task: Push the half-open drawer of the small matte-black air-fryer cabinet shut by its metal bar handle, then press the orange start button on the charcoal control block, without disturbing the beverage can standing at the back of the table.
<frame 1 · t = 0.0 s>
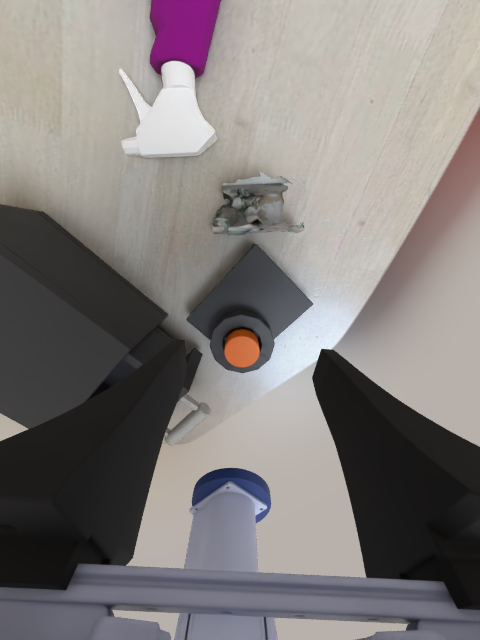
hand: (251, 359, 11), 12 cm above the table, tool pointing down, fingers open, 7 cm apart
drawer: (124, 377, 20), point 4 cm above the table, slide at 4.5 cm
control block: (248, 307, 22), on the table
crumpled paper: (255, 212, 19), on the table
fryer: (80, 309, 22), on the table
start button: (242, 347, 19), point 4 cm above the table, slide at 0.1 cm
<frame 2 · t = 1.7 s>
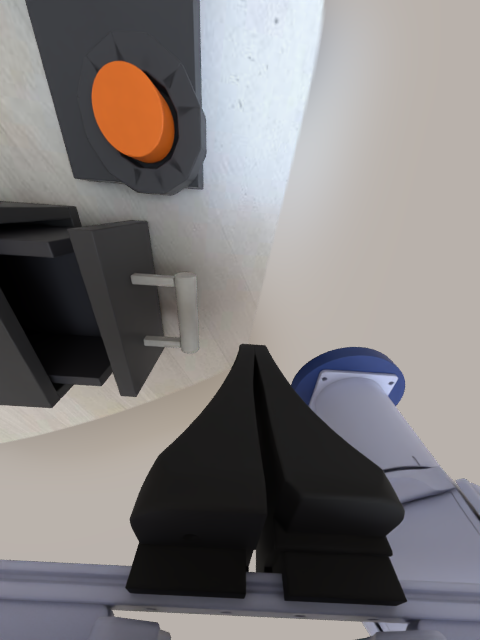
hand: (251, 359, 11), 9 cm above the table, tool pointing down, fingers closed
drawer: (78, 305, 15), point 4 cm above the table, slide at 4.5 cm
control block: (134, 86, 12), on the table
fryer: (17, 280, 18), on the table
start button: (136, 119, 10), point 4 cm above the table, slide at 0.1 cm
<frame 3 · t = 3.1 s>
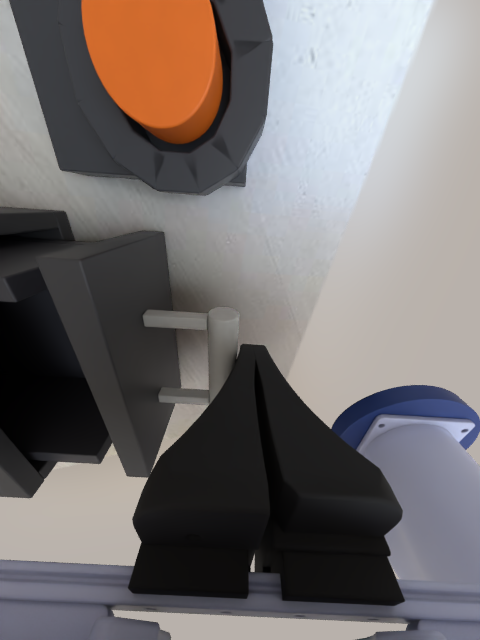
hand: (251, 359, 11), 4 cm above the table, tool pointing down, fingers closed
drawer: (68, 350, 11), point 4 cm above the table, slide at 4.4 cm, touching gripper
control block: (152, 26, 8), on the table
start button: (162, 62, 6), point 4 cm above the table, slide at 0.1 cm
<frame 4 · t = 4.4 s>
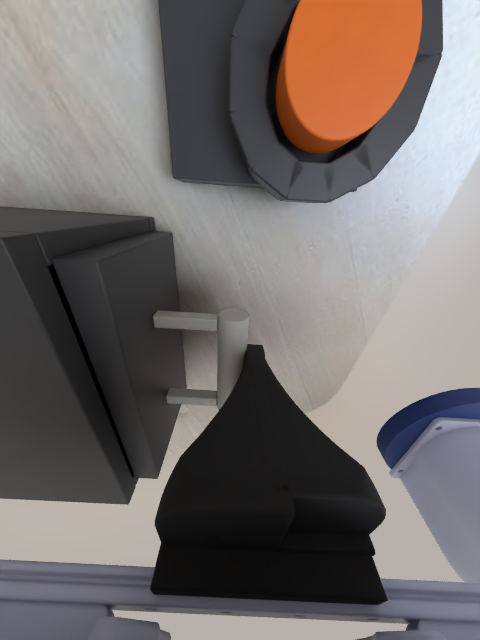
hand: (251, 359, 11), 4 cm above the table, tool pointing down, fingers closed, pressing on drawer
drawer: (75, 351, 11), point 4 cm above the table, slide at 0.0 cm, touching fryer, gripper
control block: (276, 35, 8), on the table
fryer: (61, 311, 14), on the table
start button: (336, 75, 6), point 4 cm above the table, slide at 0.1 cm
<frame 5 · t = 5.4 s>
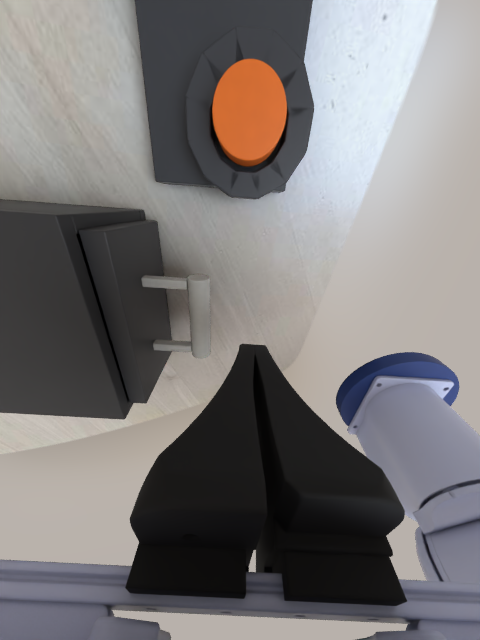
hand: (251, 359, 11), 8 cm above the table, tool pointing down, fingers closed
drawer: (85, 308, 14), point 4 cm above the table, slide at 0.0 cm, touching fryer
control block: (225, 85, 12), on the table
fryer: (72, 285, 18), on the table
start button: (248, 121, 9), point 4 cm above the table, slide at 0.1 cm
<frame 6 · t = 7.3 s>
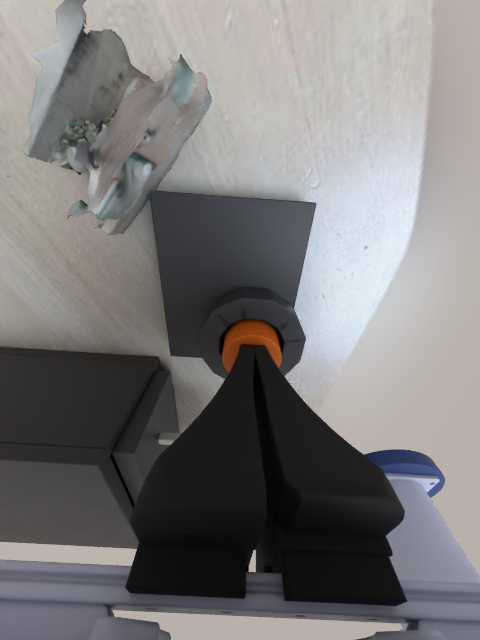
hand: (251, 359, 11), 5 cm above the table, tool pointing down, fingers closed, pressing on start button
drawer: (107, 447, 16), point 4 cm above the table, slide at 0.0 cm, touching fryer
control block: (231, 284, 14), on the table
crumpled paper: (138, 148, 10), on the table
fryer: (92, 402, 20), on the table
start button: (251, 350, 12), point 4 cm above the table, slide at -0.1 cm, touching gripper
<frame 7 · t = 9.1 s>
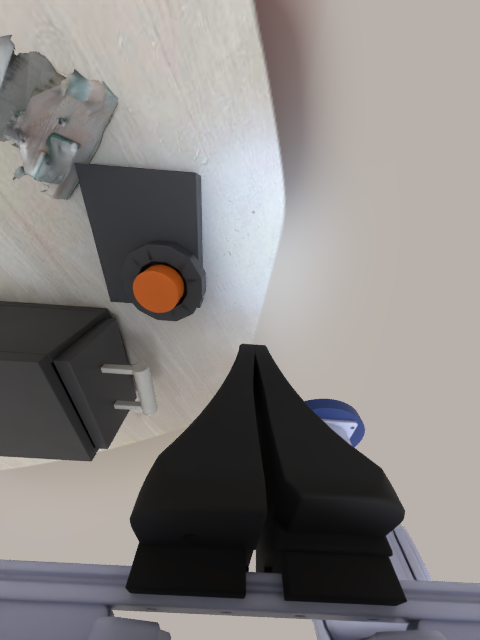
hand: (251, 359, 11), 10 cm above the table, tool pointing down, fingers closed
drawer: (64, 381, 20), point 4 cm above the table, slide at 0.0 cm, touching fryer
control block: (155, 243, 17), on the table
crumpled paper: (73, 133, 14), on the table, touching control block
fryer: (57, 352, 24), on the table
start button: (159, 288, 15), point 4 cm above the table, slide at 0.1 cm
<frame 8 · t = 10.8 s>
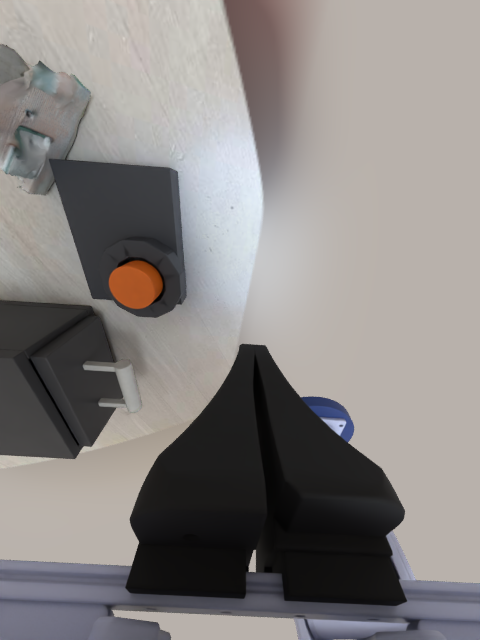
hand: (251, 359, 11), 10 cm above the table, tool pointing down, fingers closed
drawer: (48, 378, 20), point 4 cm above the table, slide at 0.0 cm, touching fryer
control block: (136, 239, 17), on the table
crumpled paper: (49, 128, 14), on the table
fryer: (44, 350, 24), on the table
start button: (137, 284, 15), point 4 cm above the table, slide at 0.1 cm
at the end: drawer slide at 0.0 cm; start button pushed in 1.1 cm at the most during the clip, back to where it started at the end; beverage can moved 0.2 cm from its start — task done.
